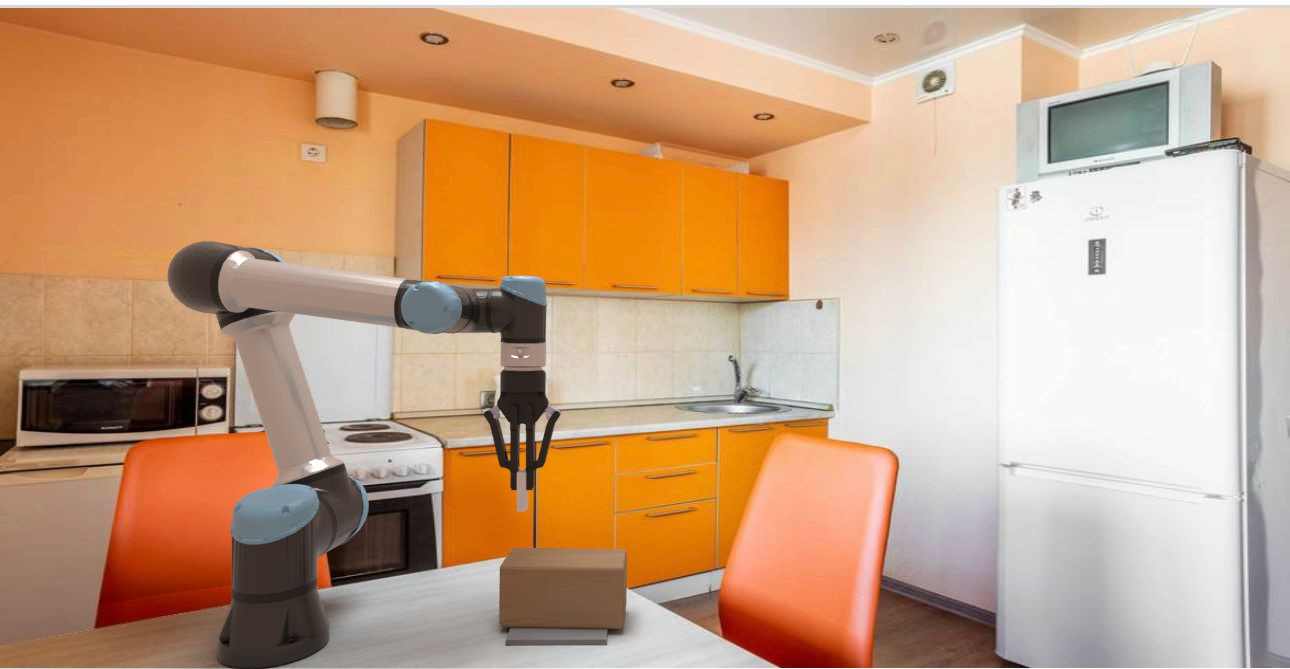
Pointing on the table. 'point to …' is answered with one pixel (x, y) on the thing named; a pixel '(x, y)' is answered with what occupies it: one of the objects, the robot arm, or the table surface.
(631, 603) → the table surface
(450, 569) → the table surface
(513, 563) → the wooden block
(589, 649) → the table surface
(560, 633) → the mat
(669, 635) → the table surface
